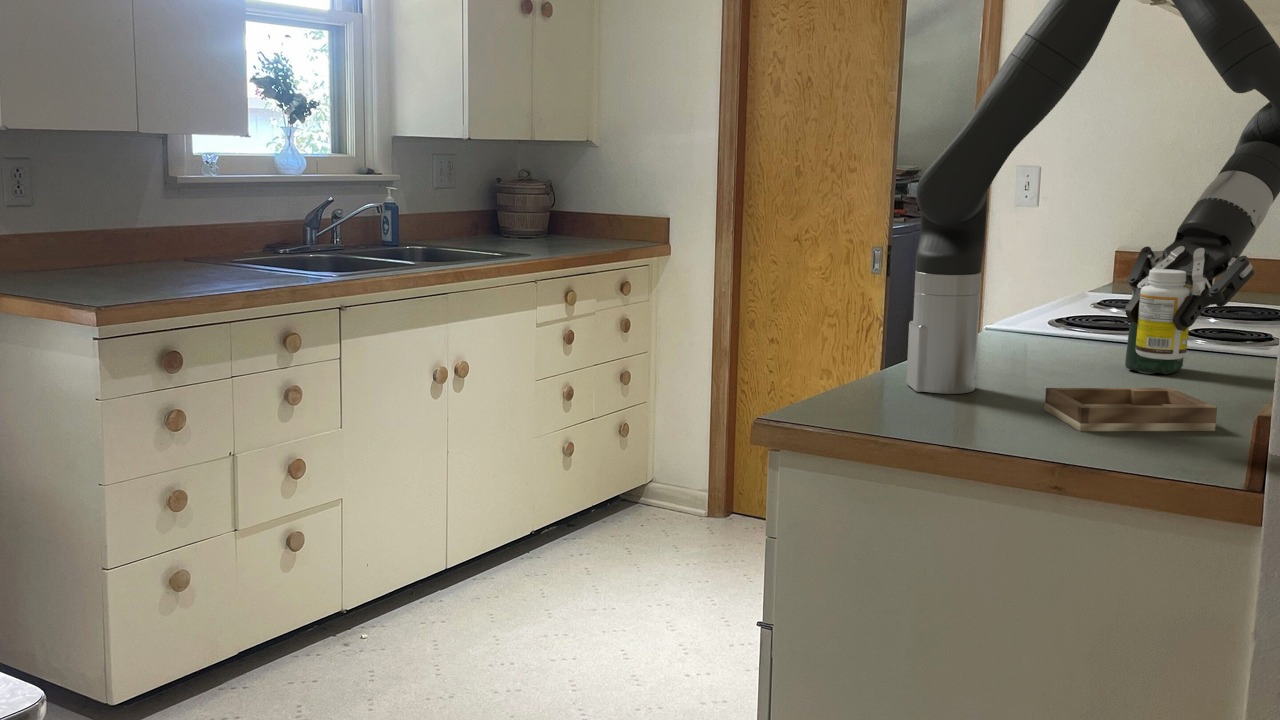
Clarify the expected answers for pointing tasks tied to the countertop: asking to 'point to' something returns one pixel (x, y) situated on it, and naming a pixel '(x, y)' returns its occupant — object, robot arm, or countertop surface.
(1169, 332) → the supplement bottle
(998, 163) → the robot arm
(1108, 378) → the countertop surface
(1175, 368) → the coffee jar
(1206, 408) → the shallow wooden tray
